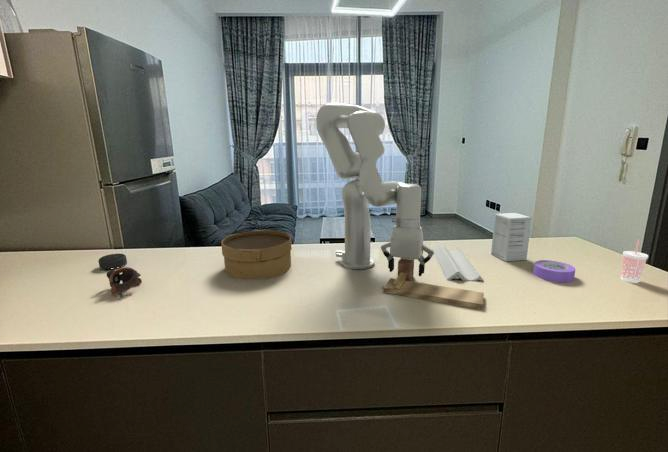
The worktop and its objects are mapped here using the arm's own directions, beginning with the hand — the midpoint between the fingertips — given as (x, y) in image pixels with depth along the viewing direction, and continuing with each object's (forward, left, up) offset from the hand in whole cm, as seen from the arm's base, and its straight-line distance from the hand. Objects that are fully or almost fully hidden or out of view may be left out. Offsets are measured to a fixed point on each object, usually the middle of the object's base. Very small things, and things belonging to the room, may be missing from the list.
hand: (405, 272), depth 112 cm
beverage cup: (+67, +28, -3) cm, 72 cm away
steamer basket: (-53, -9, -3) cm, 54 cm away
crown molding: (+13, +21, -3) cm, 25 cm away
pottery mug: (-81, -42, -3) cm, 91 cm away
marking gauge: (0, -5, -2) cm, 5 cm away
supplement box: (+32, +38, -3) cm, 49 cm away
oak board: (+10, -8, -2) cm, 13 cm away
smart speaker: (-105, -30, -3) cm, 109 cm away
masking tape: (+45, +23, -3) cm, 50 cm away
